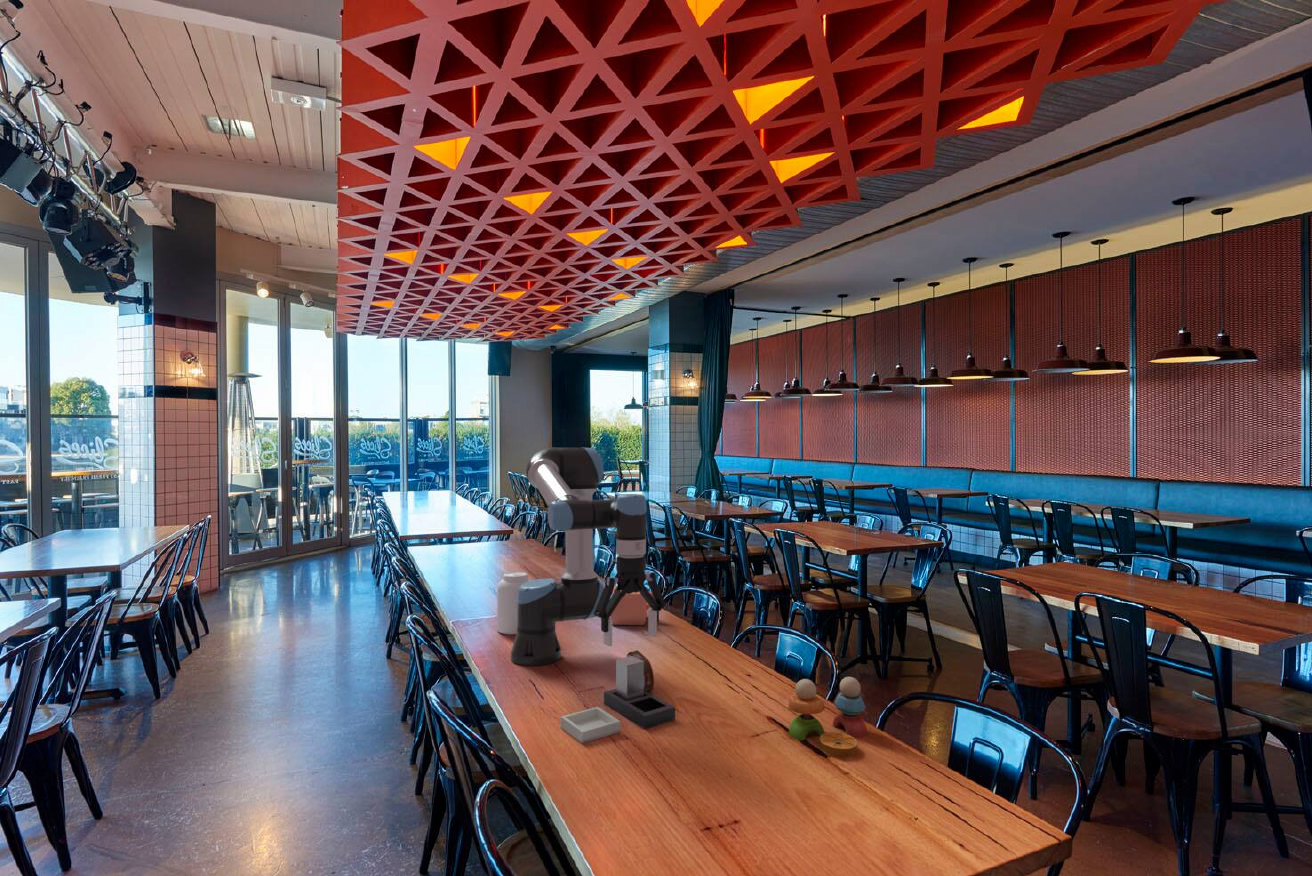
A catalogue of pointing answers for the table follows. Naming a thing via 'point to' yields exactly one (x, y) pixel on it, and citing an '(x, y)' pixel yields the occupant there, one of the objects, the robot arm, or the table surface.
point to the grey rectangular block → (629, 678)
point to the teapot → (630, 610)
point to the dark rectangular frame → (641, 709)
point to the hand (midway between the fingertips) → (630, 640)
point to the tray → (590, 724)
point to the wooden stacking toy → (849, 707)
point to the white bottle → (509, 601)
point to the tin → (645, 670)
